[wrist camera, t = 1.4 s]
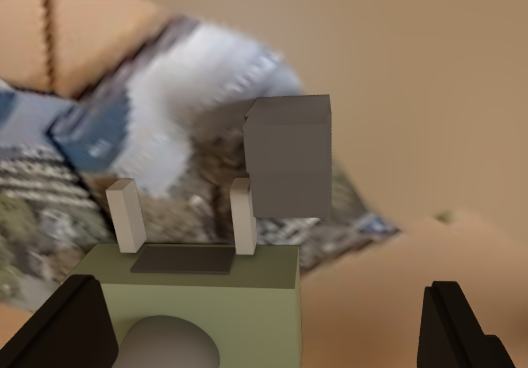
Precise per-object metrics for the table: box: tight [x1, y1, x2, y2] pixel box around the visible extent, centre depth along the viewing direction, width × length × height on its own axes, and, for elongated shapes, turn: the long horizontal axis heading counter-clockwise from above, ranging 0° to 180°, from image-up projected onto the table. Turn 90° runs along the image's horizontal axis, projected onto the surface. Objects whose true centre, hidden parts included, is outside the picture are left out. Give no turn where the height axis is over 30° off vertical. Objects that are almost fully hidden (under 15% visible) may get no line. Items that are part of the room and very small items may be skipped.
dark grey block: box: [242, 94, 331, 218], centre depth 23 cm, size 4×6×7 cm
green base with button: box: [60, 178, 303, 368], centre depth 27 cm, size 16×16×10 cm
